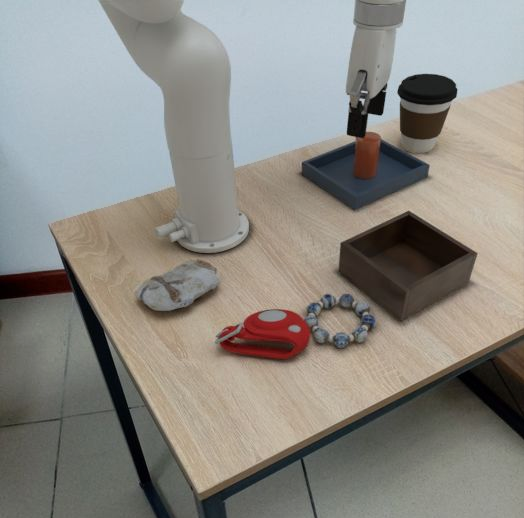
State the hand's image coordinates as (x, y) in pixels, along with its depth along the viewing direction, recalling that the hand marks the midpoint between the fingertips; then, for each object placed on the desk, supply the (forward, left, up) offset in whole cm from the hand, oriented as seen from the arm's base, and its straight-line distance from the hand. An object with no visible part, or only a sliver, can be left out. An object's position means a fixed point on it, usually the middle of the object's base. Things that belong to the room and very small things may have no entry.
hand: (365, 124), depth 93 cm
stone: (-43, -9, -10) cm, 45 cm away
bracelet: (-28, -28, -10) cm, 41 cm away
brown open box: (-14, -26, -10) cm, 31 cm away
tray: (+1, 0, -10) cm, 10 cm away
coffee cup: (+17, +2, -10) cm, 20 cm away
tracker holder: (-38, -24, -10) cm, 46 cm away
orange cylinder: (+1, 0, -10) cm, 9 cm away
